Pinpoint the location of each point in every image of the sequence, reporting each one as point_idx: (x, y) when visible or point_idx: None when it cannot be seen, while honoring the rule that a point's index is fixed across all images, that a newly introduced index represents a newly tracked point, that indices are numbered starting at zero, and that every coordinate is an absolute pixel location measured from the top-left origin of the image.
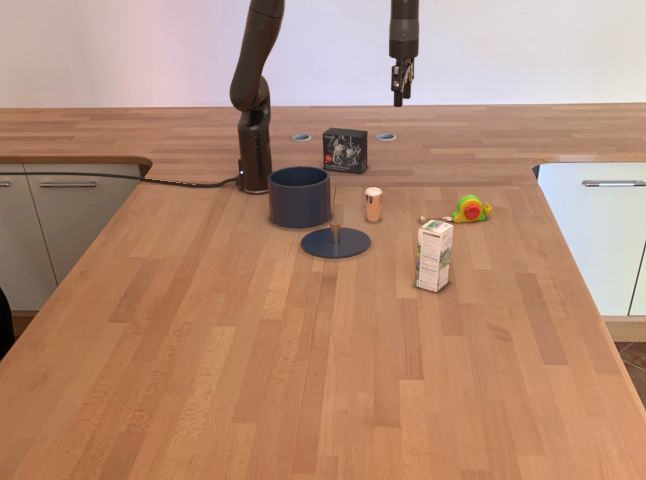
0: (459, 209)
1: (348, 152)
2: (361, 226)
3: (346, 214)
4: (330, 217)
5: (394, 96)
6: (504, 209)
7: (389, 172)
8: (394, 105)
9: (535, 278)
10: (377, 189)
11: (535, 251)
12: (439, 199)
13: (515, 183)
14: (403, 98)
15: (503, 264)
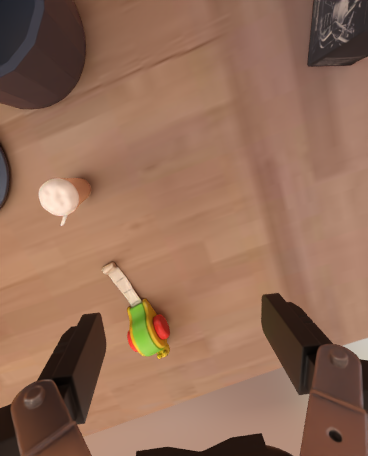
0: (131, 324)
1: (341, 5)
2: (46, 178)
3: (84, 128)
4: (39, 107)
5: (65, 355)
6: (204, 350)
7: (327, 126)
8: (84, 318)
9: None
10: (58, 207)
11: None
12: (213, 259)
13: None
14: (263, 298)
15: None
